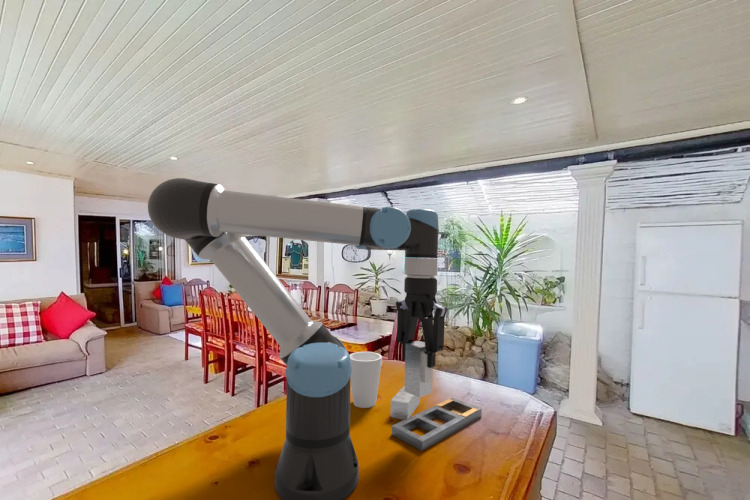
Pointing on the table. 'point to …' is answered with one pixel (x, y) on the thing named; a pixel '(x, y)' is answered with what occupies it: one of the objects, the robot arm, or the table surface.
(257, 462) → the table surface
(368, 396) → the foam cup
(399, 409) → the block
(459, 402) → the grey flat frame
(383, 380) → the table surface
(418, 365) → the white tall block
